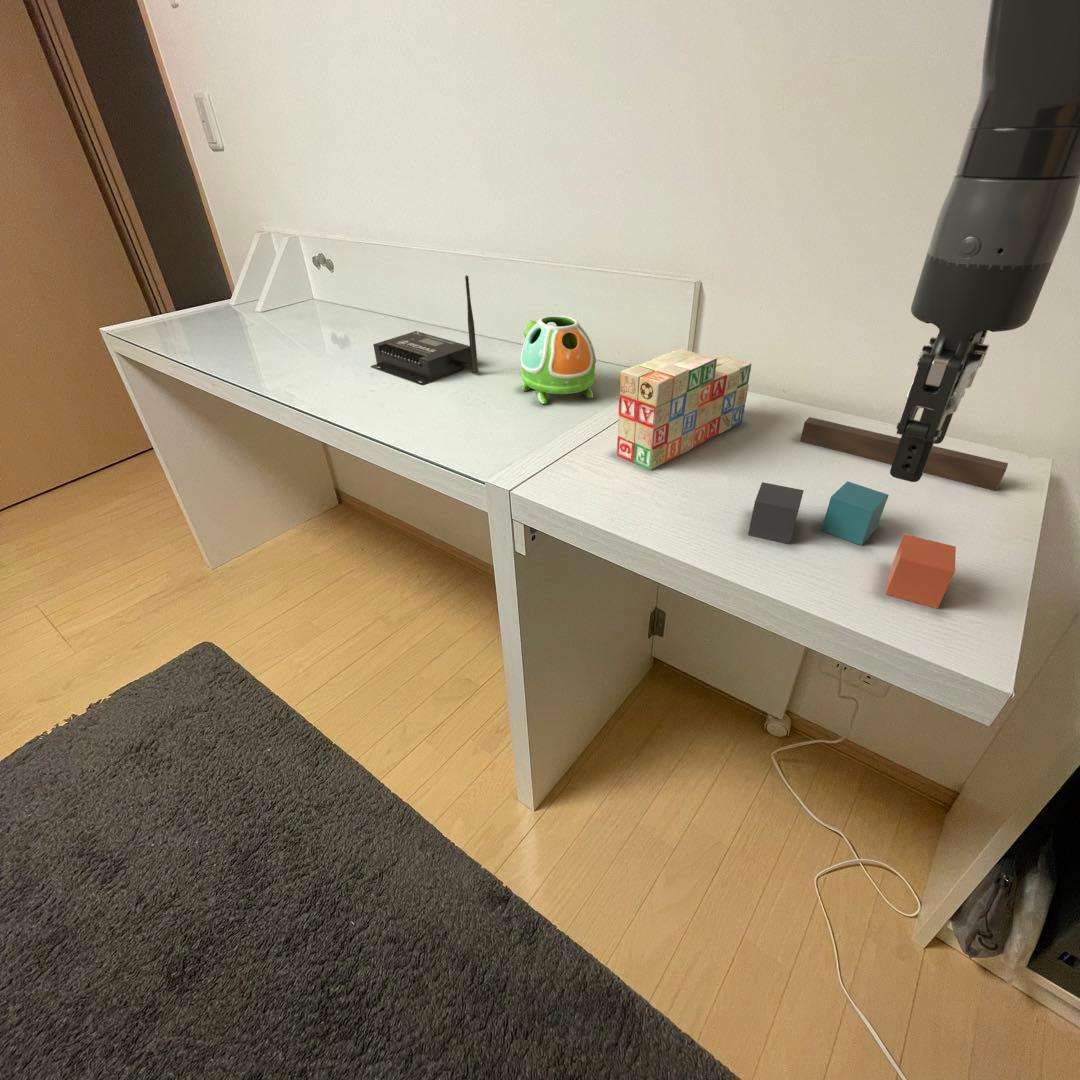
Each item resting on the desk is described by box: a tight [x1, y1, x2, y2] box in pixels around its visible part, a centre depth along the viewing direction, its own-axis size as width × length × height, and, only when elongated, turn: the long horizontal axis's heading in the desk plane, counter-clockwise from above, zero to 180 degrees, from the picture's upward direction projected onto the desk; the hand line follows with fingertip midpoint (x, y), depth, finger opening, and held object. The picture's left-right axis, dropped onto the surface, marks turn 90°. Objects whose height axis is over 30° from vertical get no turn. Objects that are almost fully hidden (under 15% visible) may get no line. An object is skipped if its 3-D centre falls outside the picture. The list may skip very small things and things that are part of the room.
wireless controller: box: [369, 274, 479, 386], centre depth 111 cm, size 20×14×17 cm
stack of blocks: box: [616, 348, 752, 471], centre depth 85 cm, size 21×6×12 cm, turn 131°
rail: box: [799, 416, 1009, 492], centre depth 81 cm, size 24×2×3 cm, turn 52°
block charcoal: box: [747, 481, 805, 545], centre depth 68 cm, size 4×4×4 cm
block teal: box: [820, 481, 889, 546], centre depth 68 cm, size 4×4×4 cm
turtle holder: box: [520, 314, 597, 405], centre depth 103 cm, size 12×18×12 cm
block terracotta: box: [885, 534, 957, 609], centre depth 59 cm, size 4×4×4 cm
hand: (916, 458), depth 52 cm, fingers open, 8 cm apart
